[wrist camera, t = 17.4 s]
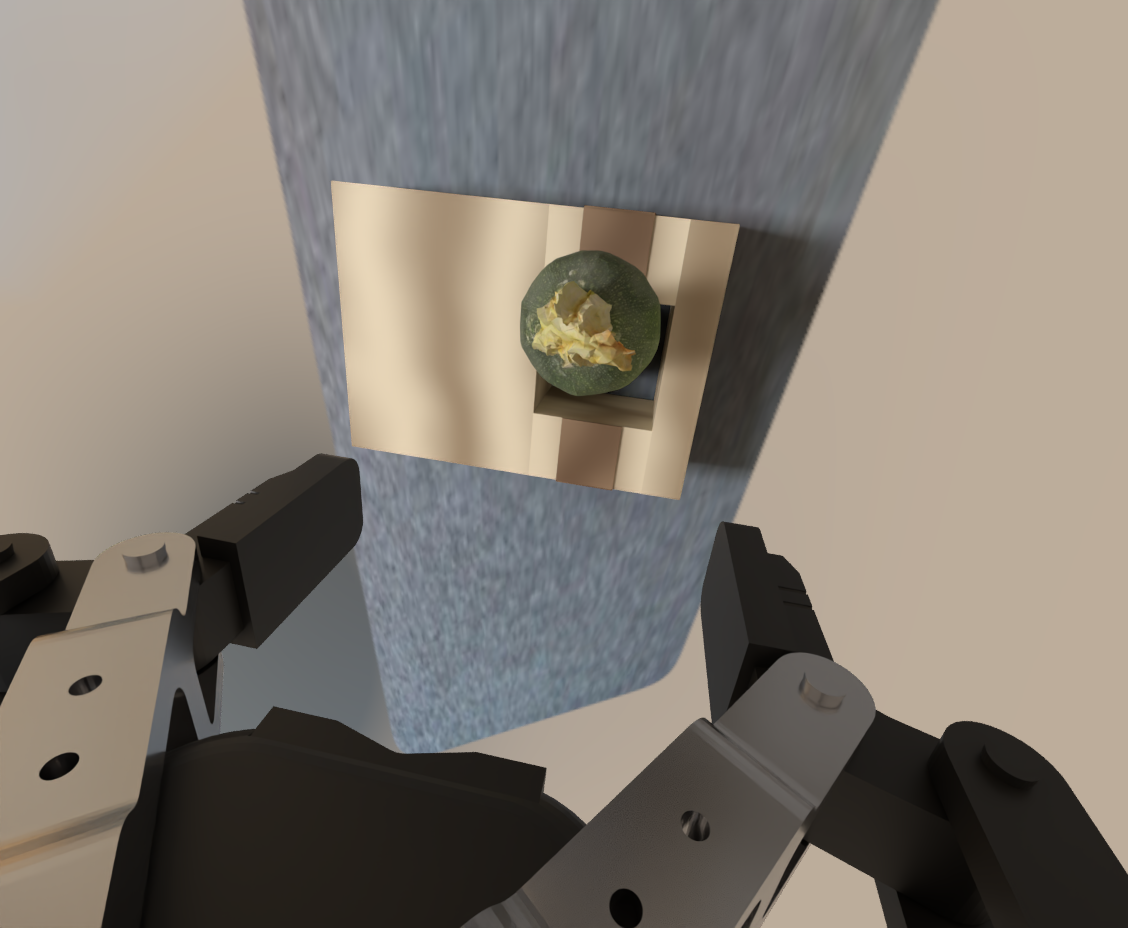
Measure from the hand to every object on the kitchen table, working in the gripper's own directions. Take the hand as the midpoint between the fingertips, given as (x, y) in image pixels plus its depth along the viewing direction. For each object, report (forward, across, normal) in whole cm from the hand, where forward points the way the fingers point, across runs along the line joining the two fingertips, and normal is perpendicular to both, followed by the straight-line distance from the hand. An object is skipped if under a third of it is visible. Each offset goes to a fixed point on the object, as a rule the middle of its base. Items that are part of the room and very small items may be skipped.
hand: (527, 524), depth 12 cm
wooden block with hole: (+20, +4, 0) cm, 20 cm away
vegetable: (+20, 0, 0) cm, 20 cm away
